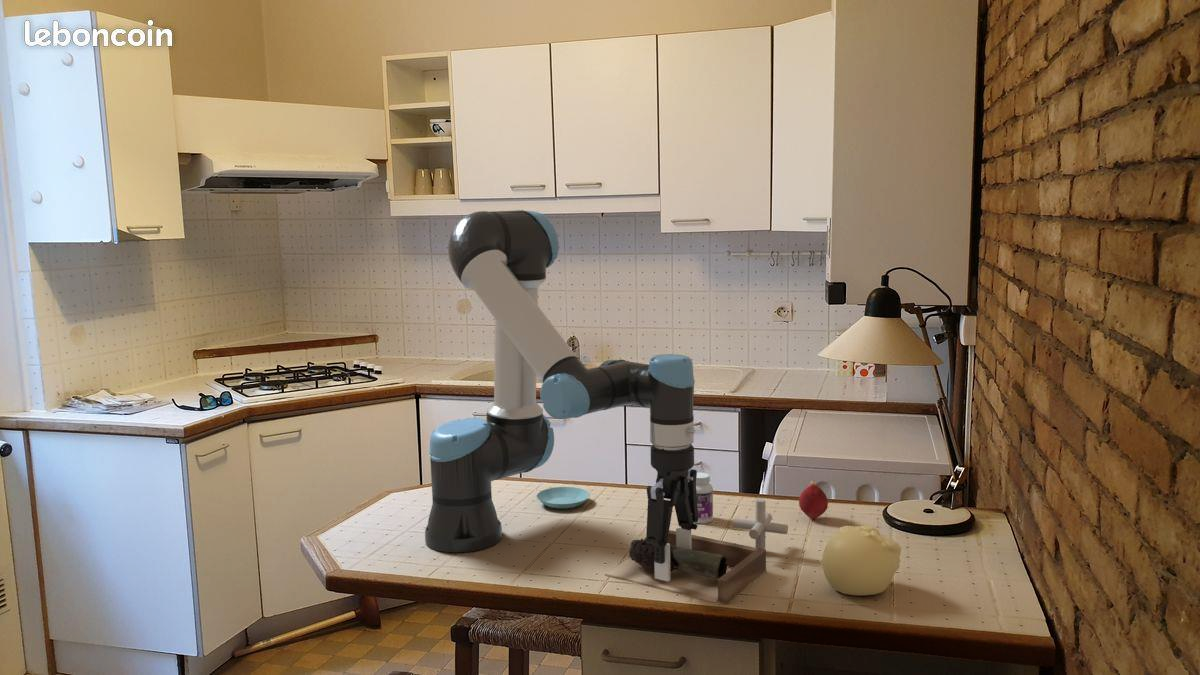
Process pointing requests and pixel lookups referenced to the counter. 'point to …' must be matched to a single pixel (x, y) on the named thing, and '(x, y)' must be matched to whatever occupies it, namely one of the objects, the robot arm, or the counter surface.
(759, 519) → the pipe connector
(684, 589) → the mat
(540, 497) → the saucer
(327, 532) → the counter surface
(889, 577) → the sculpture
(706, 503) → the pill bottle
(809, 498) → the onion
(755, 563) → the corner wall
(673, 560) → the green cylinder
